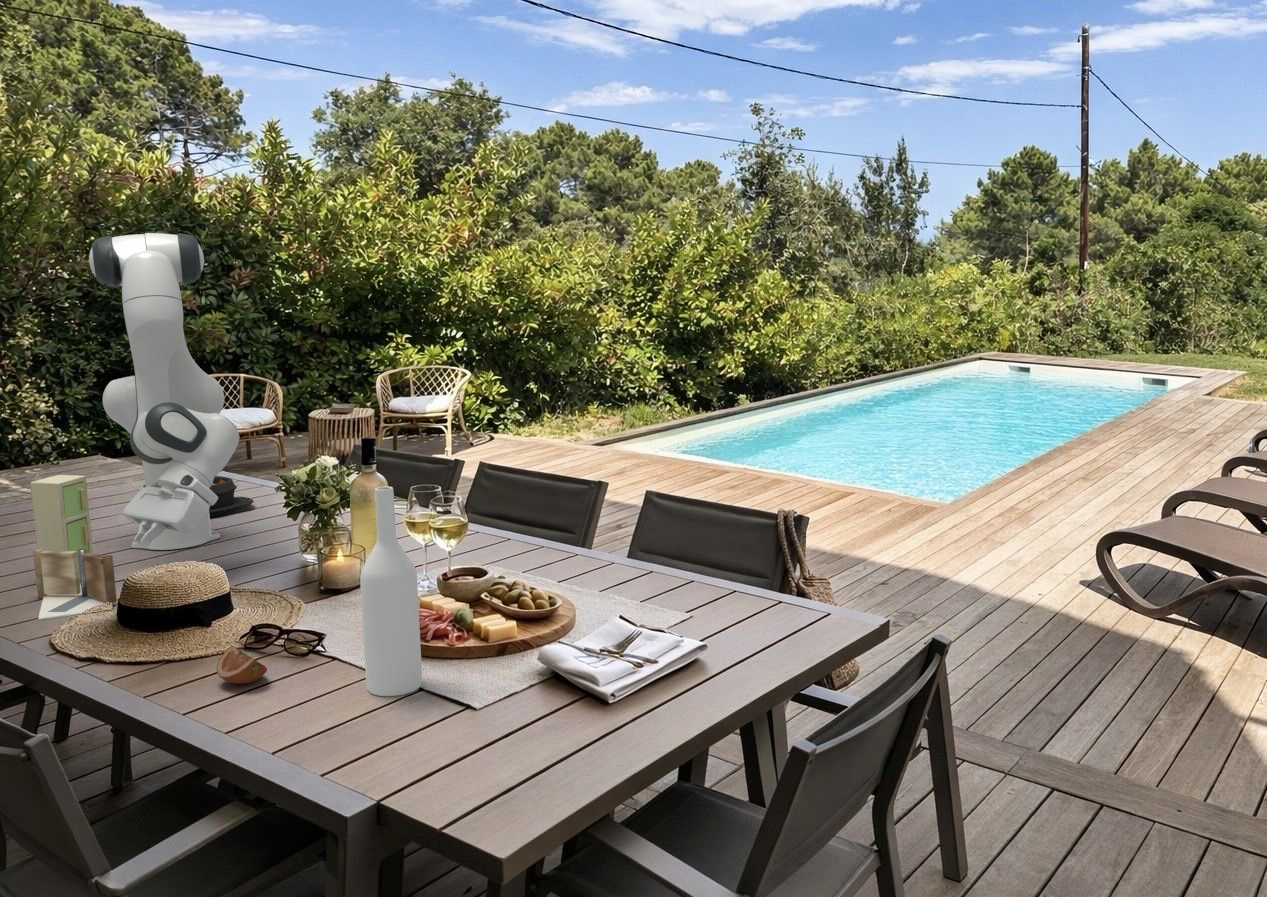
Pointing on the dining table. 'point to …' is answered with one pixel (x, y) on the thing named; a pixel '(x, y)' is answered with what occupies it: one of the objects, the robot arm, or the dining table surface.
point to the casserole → (226, 496)
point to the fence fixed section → (60, 572)
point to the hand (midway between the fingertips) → (140, 543)
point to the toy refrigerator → (61, 513)
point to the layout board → (66, 605)
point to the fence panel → (100, 576)
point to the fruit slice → (239, 667)
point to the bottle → (390, 609)
